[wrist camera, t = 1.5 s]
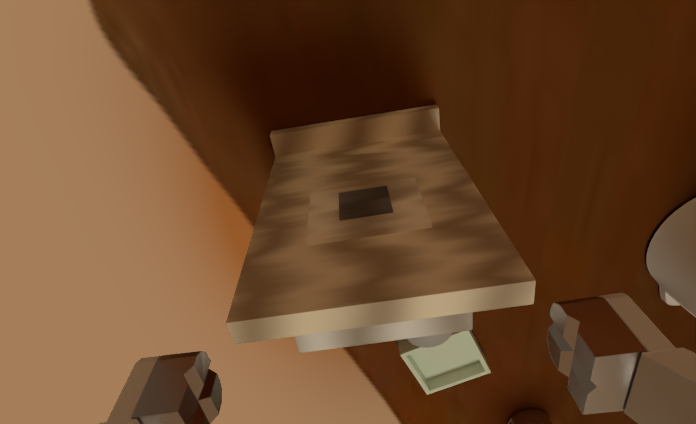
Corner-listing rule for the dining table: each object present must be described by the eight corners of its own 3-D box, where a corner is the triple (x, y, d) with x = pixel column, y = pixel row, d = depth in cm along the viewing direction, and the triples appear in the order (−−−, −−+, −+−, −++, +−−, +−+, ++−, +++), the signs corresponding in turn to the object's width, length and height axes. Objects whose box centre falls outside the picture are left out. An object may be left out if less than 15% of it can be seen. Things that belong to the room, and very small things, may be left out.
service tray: (462, 314, 54) (468, 329, 52) (485, 357, 58) (490, 372, 56) (397, 339, 56) (400, 354, 54) (423, 379, 60) (427, 394, 58)
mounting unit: (436, 104, 40) (539, 244, 20) (440, 195, 45) (526, 380, 25) (271, 131, 41) (212, 291, 21) (293, 217, 46) (264, 413, 26)
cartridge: (443, 273, 51) (458, 316, 44) (432, 305, 53) (445, 349, 47) (402, 268, 50) (412, 311, 44) (393, 300, 53) (400, 345, 46)
